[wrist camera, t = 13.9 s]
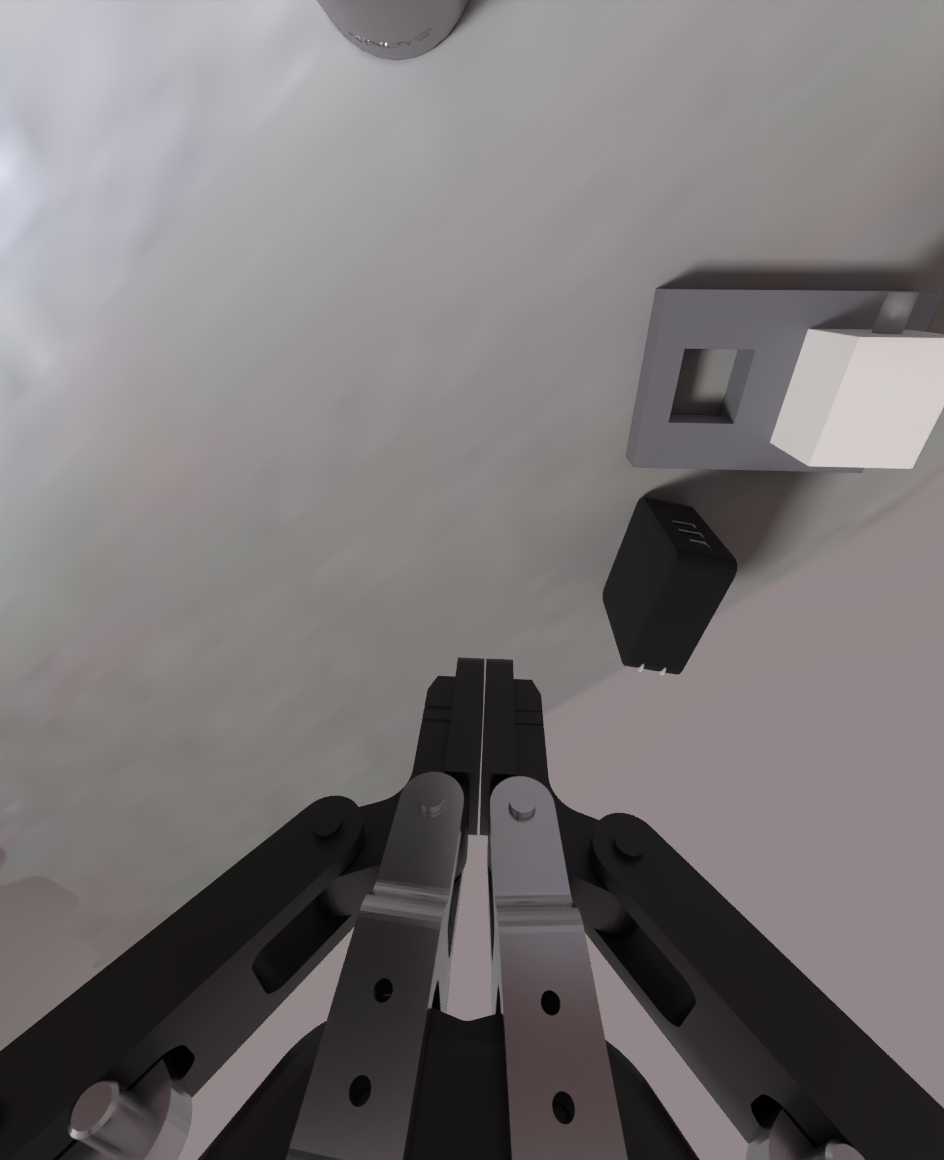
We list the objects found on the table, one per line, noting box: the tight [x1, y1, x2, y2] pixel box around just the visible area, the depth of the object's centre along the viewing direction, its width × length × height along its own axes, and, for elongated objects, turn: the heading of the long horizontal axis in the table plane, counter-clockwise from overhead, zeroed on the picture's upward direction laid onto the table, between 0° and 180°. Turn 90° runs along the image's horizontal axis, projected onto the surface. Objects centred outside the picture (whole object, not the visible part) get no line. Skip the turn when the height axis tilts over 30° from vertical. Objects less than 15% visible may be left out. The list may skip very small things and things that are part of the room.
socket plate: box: [626, 289, 944, 473], centre depth 32 cm, size 11×16×2 cm
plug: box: [770, 292, 944, 469], centre depth 29 cm, size 9×6×7 cm, turn 0°
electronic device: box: [603, 498, 737, 676], centre depth 37 cm, size 4×10×10 cm, turn 170°
